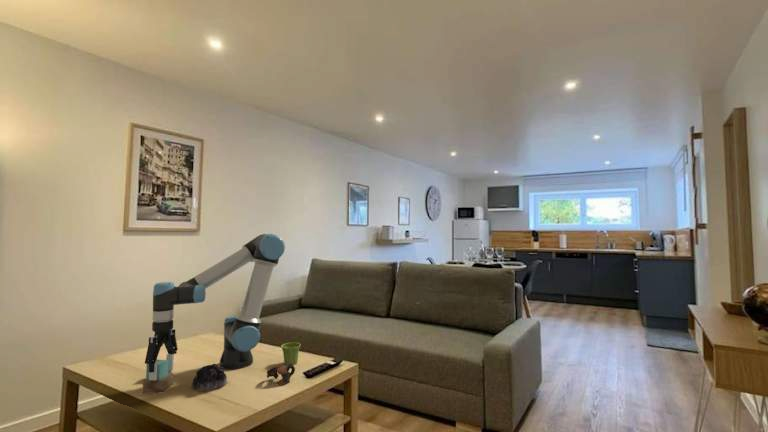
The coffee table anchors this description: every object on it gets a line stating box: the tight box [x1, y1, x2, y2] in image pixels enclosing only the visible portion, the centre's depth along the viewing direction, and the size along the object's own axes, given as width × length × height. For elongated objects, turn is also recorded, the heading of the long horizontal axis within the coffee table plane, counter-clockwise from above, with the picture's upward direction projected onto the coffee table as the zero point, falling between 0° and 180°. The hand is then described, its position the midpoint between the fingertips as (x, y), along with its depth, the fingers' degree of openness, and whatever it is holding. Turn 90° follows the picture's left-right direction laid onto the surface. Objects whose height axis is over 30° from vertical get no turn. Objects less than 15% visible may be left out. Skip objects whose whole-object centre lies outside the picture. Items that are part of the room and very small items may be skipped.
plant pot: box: [280, 342, 302, 366], centre depth 187 cm, size 9×9×9 cm
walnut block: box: [142, 372, 174, 394], centre depth 156 cm, size 8×8×5 cm
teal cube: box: [145, 359, 168, 380], centre depth 156 cm, size 6×6×6 cm
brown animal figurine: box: [266, 363, 296, 387], centre depth 165 cm, size 12×10×8 cm
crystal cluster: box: [191, 363, 228, 392], centre depth 159 cm, size 14×14×10 cm
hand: (161, 374), depth 157 cm, fingers open, 10 cm apart
